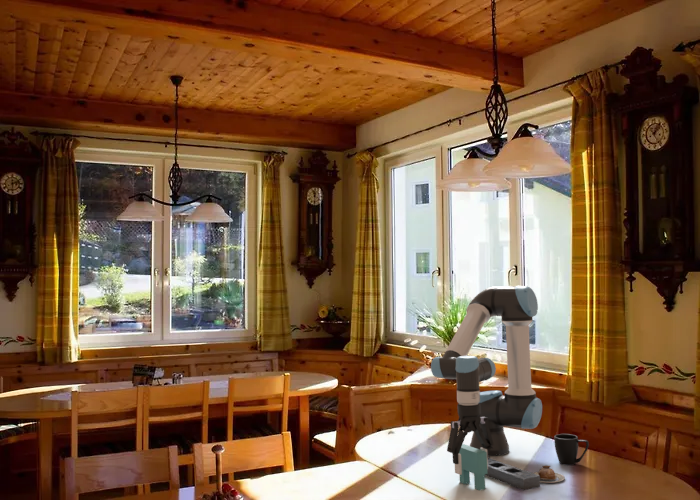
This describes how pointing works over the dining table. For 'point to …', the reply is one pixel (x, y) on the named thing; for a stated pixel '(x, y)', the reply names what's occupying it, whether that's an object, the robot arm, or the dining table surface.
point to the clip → (473, 465)
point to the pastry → (549, 475)
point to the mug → (568, 448)
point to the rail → (512, 475)
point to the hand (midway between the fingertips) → (471, 470)
